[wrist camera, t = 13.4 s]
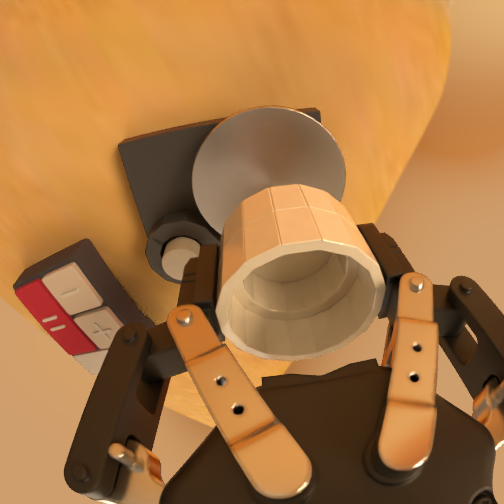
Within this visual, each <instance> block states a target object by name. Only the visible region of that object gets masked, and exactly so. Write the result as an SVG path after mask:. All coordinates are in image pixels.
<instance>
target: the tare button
mask: <svg viewBox="0 0 504 504" xmlns="http://www.w3.org/2000/svg"><path fill="white" fill-rule="evenodd" d="M199 252H200V244H199V243H198V242H197V241H195V240H193V239H191V238H188V237H177V238H174V239H172V240H171V241H170V242H169V243H168V244H167V245H166V248H165V251H164V255H163V258H162V266H163V269H164V271H165V272H166V273H167V274H168V275H169V276H170V277H172V278H174V279H177V280H182V276H183V271H184V266H185V265H186V263H187V262H188V261H189V259H190V258H194V257H199Z"/></svg>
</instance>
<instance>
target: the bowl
mask: <svg viewBox="0 0 504 504" xmlns="http://www.w3.org/2000/svg"><path fill="white" fill-rule="evenodd" d="M385 290H386V285H385V281H384V278H383V275H382V272H381V269H380V266H379V264H378V262H377V260H376V259H375V257H374V255H373V253H372V252H371V250H370V248H369V246H368V245H367V243H366V241H365V239H364V238H363V236H362V234H361V233H360V231H359V230H358V228H357V226H356V225H355V223H354V221H353V220H352V218H351V216H350V215H349V213H348V211H347V210H346V208H345V207H344V206H343V205H342V204H341V203H340V202H338V201H337V200H336V199H335V198H334V197H332V196H331V195H330V194H329V193H328V192H325V191H324V190H320V189H316V188H313V187H309V186H305V185H301V184H299V185H298V184H292V185H284V186H275V187H270V188H266V189H264V190H262V191H260V192H258V193H256V194H254V195H253V196H251V197H249V198H247V199H245V200H243V202H241V203H240V204H239V206H238V207H237V208H236V209H235V210H234V212H233V213H232V214H231V215H230V216H229V218H228V219H227V220H226V222H225V224H224V228H223V232H222V236H221V240H220V244H219V257H218V273H217V287H216V304H215V313H216V316H217V319H218V322H219V325H220V328H221V332H222V333H223V335H224V336H225V337H226V338H228V339H229V340H230V341H231V342H232V343H233V344H234V345H235V346H236V347H237V348H238V349H240V350H242V351H244V352H247V353H249V354H252V355H255V356H257V357H260V358H263V359H270V360H281V361H296V360H301V359H309V358H315V357H319V356H322V355H325V354H327V353H330V352H332V351H335V350H337V349H340V348H342V347H344V346H346V345H347V344H348V343H350V342H351V341H353V340H354V339H355V338H357V337H358V336H359V335H361V334H362V333H363V332H365V331H366V330H367V328H368V327H369V326H370V324H371V323H372V322H373V321H374V319H375V318H376V316H377V315H378V314H379V312H380V311H381V308H382V304H383V299H384V295H385Z"/></svg>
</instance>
